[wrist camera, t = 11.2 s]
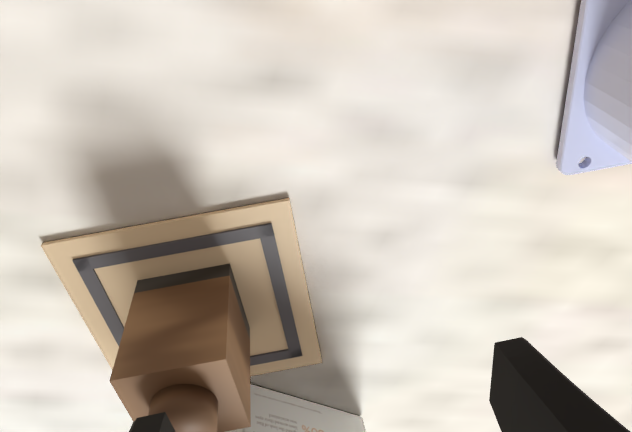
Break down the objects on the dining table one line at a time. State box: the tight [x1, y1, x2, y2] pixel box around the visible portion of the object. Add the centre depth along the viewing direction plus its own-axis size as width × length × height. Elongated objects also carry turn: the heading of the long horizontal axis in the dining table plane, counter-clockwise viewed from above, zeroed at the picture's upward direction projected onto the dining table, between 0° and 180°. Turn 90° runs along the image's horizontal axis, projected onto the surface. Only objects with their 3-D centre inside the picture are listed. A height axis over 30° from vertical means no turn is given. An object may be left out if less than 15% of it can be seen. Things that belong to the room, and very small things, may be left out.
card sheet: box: [41, 198, 322, 376], centre depth 23 cm, size 10×10×1 cm
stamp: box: [110, 263, 251, 432], centre depth 20 cm, size 4×4×6 cm
